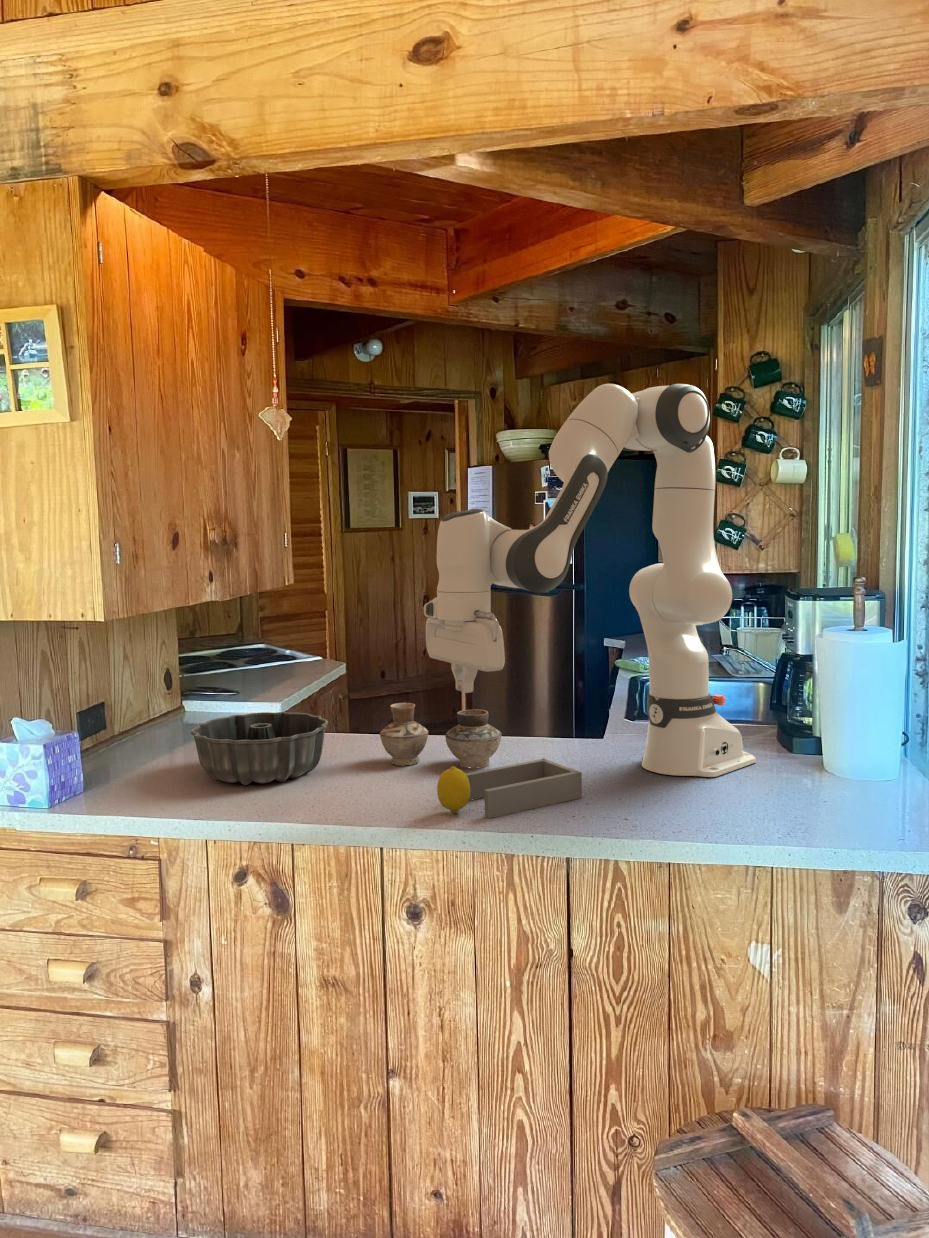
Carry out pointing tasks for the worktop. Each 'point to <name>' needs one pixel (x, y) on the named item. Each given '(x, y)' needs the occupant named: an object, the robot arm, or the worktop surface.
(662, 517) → the robot arm
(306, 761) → the bundt pan
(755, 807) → the worktop surface
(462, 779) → the lemon
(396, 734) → the pottery
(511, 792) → the trough
